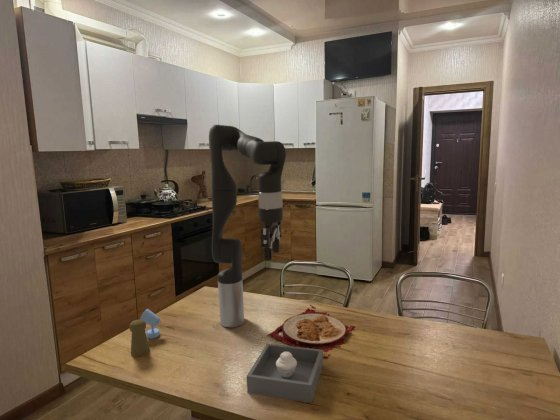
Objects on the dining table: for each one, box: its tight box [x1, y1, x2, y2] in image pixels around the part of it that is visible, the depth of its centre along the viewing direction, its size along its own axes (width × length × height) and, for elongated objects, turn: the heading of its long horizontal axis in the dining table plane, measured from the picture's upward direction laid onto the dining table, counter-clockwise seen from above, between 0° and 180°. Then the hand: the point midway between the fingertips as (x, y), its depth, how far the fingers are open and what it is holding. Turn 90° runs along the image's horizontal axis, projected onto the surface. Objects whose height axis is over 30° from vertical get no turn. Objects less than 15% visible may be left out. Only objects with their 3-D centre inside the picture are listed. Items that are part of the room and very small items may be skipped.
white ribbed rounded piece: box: [276, 352, 297, 377], centre depth 110 cm, size 6×6×7 cm
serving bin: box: [246, 342, 324, 403], centre depth 110 cm, size 18×18×5 cm
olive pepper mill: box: [129, 318, 151, 358], centre depth 127 cm, size 6×6×11 cm
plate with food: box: [267, 304, 357, 358], centre depth 138 cm, size 25×26×4 cm
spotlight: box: [139, 308, 161, 339], centre depth 139 cm, size 5×10×7 cm
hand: (272, 255), depth 122 cm, fingers open, 8 cm apart
